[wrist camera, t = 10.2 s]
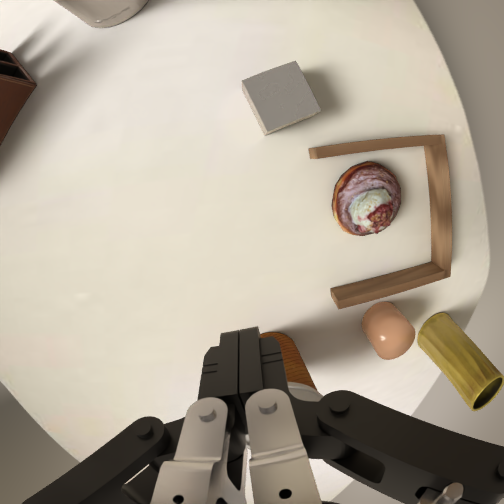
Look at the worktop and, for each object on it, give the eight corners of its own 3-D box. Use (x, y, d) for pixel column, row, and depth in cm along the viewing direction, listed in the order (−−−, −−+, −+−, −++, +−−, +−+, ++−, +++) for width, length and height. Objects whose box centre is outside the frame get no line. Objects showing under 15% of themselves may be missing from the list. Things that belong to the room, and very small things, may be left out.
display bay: (308, 148, 27) (315, 147, 24) (428, 135, 26) (444, 134, 23) (331, 296, 31) (338, 309, 29) (437, 267, 31) (450, 276, 28)
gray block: (242, 91, 25) (241, 80, 21) (289, 73, 24) (295, 60, 20) (264, 135, 26) (267, 131, 22) (311, 116, 26) (321, 110, 22)
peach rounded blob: (361, 307, 32) (376, 329, 27) (397, 297, 32) (416, 317, 27) (361, 340, 34) (375, 364, 29) (396, 330, 33) (413, 351, 29)
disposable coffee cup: (323, 334, 33) (352, 406, 22) (287, 387, 36) (299, 460, 24) (250, 308, 32) (252, 384, 20) (219, 368, 34) (212, 444, 23)
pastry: (346, 246, 30) (363, 262, 25) (315, 183, 28) (329, 188, 23) (405, 212, 29) (429, 222, 24) (379, 149, 27) (402, 149, 22)
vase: (410, 349, 35) (459, 418, 21) (426, 311, 33) (487, 376, 19) (440, 347, 35) (489, 408, 21) (456, 312, 33) (515, 368, 20)
